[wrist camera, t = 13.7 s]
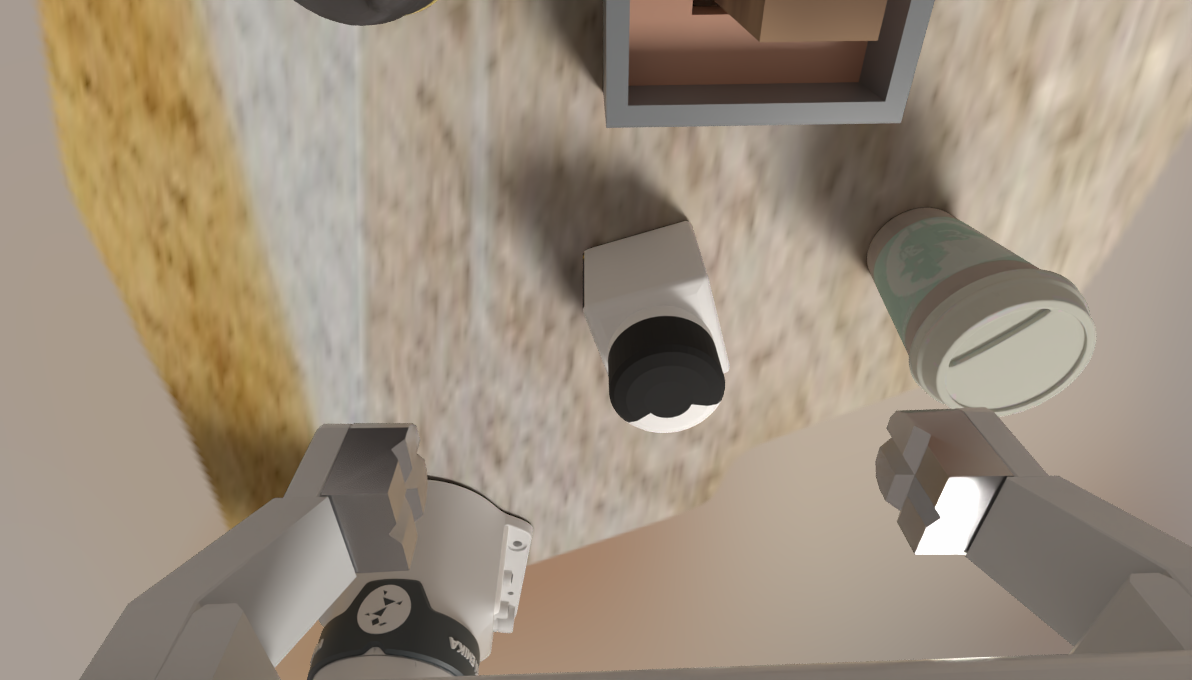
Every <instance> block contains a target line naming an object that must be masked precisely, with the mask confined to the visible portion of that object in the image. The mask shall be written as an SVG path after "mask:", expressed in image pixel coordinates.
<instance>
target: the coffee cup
mask: <svg viewBox="0 0 1192 680" xmlns="http://www.w3.org/2000/svg"><path fill="white" fill-rule="evenodd" d="M867 265H868V269H869V271H870V273H871V276H872V278H873V280H874V282H875V284H876V287H877V289H878V291H879V293H880V295H881V297H882V299H883V302H884V304H885V306H886V308H887V310H888V312H889V314H890V316H891V319H892V321H893V323H894V325H895V327H896V329H897V331H898V333H899V336H900V338H901V340H902V342H903V344H904V346H905V348H906V350H907V353H908V355H909V367H910V371H911V374H912V377H913V379H914V380H915V382H916V383H917V384H918V386H919V387H920V388H921V389H923V390H924V391H925V392H926V393H927V394H928V395H929V396H930V397H932V398H933V399H935V400H936V401H938V402H940V403H943V404H945V405H947V406H948V407H949V408H950V409H955V408H974V407H986V408H988V409H990V410H992V411H993V412H994V413H995V414H996V415H997V416H998V417H1002V416H1007V415H1011V414H1015V413H1019V412H1022V411H1025V410H1028V409H1030V408H1033V407H1035V406H1037V405H1039V404H1041V403H1043V402H1045V401H1047V400H1049V399H1050V398H1052V397H1054V396H1055V395H1057V394H1058V393H1060V392H1061V391H1062V390H1064V389H1065V388H1066V387H1067V386H1068V385H1070V384H1071V382H1073V381H1074V380H1075V379H1076V378H1077V377H1078V376H1079V374H1080V373H1081V372H1082V371H1083V369H1084V368H1085V367H1086V365H1087V364H1088V362H1089V360H1090V358H1091V356H1092V354H1093V351H1094V348H1095V345H1096V337H1097V336H1096V328H1095V325H1094V322H1093V320H1092V318H1091V316H1090V311H1089V307H1088V305H1087V302H1086V300H1085V299H1084V297H1083V296H1082V295H1081V293H1080V292H1079V290H1078V289H1077V287H1076V286H1075V285H1074V284H1073V283H1072V282H1071V281H1070V280H1068V279H1067V278H1065V277H1063V276H1061V275H1059V274H1057V273H1054V272H1051V271H1047V270H1041V269H1039V268H1037V267H1036V266H1034V265H1032V264H1031V263H1029V262H1027V261H1026V260H1024V259H1023V258H1021V257H1019V256H1018V255H1016V254H1014V253H1013V252H1011V251H1009V250H1008V249H1006V248H1005V247H1003V246H1001V245H1000V244H998V243H996V242H995V241H993V240H991V239H990V238H988V237H987V236H985V235H983V234H982V233H980V232H978V231H977V230H975V229H973V228H972V227H970V226H969V225H967V224H965V223H964V222H962V221H960V220H959V219H957V218H955V217H954V216H952V215H950V214H948V213H947V212H945V211H943V210H940V209H937V208H917V209H913V210H909V211H906V212H904V213H902V214H900V215H898V216H896V217H894V218H893V219H891V220H890V221H889V222H887V223H886V224H885V225H884V226H883V227H882V228H881V229H880V230H879V231H878V232H877V234H876V235H875V237H874V238H873V240H872V242H871V244H870V246H869V249H868V253H867Z"/></svg>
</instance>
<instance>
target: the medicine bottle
mask: <svg viewBox="0 0 1192 680" xmlns="http://www.w3.org/2000/svg"><path fill="white" fill-rule="evenodd" d="M583 313H584V316H585V318H586V321H587V323H588V326H589V328H590V331H591V333H592V336H593V338H594V341H595V343H596V346H597V348H598V351H599V354H600V356H601V359H602V361H603V364H604V366H605V369H606V371H607V374H608V376H609V395H610V400H611V403H612V406H613V408H614V409H615V411H616V412H617V413H618V415H619V416H620V417H621V418H623V419H624V420H625V421H626V422H628V423H630V424H631V425H633V426H635V427H638V428H640V429H643V430H646V431H650V432H657V433H670V432H677V431H682V430H685V429H688V428H690V427H693V426H695V425H697V424H699V423H700V422H702V421H703V420H705V419H706V418H707V417H708V416H709V415H710V414H711V413H712V412H713V411H714V410H715V409H716V408H717V407H718V405H719V403H720V402H721V400H722V397H723V395H724V390H725V379H724V374H723V373H726V372H728V371H729V366H730V365H729V361H728V357H727V353H726V348H725V344H724V340H723V336H722V332H721V328H720V324H719V319H718V315H717V311H716V307H715V303H714V299H713V294H712V290H711V286H710V282H709V278H708V275H707V271H706V268H705V265H704V262H703V259H702V256H701V252H700V249H699V246H698V243H697V240H696V236H695V233H694V230H693V227H692V224H691V223H690V222H688V221H683V222H679V223H676V224H673V225H669V226H666V227H662V228H659V229H655V230H652V231H648V232H645V233H641V234H638V235H635V236H631V237H628V238H624V239H621V240H617V241H614V242H610V243H607V244H603V245H600V246H597V247H593V248H590V249H587V250H585V251H584V253H583Z"/></svg>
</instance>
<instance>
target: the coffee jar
mask: <svg viewBox="0 0 1192 680" xmlns="http://www.w3.org/2000/svg"><path fill="white" fill-rule="evenodd" d="M294 1H295V2H297V3H298V4H300V5H302V6H303V7H305V8H306V9H308V10H310V11H312V12H314V13H315V14H317V15H319V16H321V17H324V18H326V19H329V20H332V21H336V22H339V23H343V24H348V25H359V26H364V25H376V24H383V23H387V22H391V21H394V20H396V19H399V18H401V17H402V16H406V15H410V14H414V13H417V12H420V11H422V10H424V9H426V8H428V7H429V6H431V5H432V4H434V3H435V2H436V1H438V0H294Z"/></svg>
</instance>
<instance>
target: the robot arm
mask: <svg viewBox="0 0 1192 680" xmlns="http://www.w3.org/2000/svg"><path fill="white" fill-rule="evenodd" d="M887 430H888V432H889V433H890V435H891V437H892V438H891V439H889V440H888V441H887V442H886V443H884V444H883V445H882V446H881V447H880V448H879V451H878V455H877V458H876V478H877V482H878V485H879V489H880V491H881V493H882V494H883V497H884V499H885V500H886V501H887V502H888V503H890V504H891V505H892V506H894V507H895V508H897V509H898V510H900V513H899V517H898V520H897V523H898V525H899V526H900V528H901V530H902V532H903V534H904V535H905V537H906V539H907V541H908V543H909V545H910V547H911V548H912V550H913V552H914V554H966V557H967V558H968V559H969V560H970V561H971V562H973V563H974V564H975V565H976V566H978V567H979V568H980V569H981V570H982V571H984V572H985V573H986V574H987V575H988V576H989V577H991V578H992V579H993V580H994V581H996V582H997V583H998V584H999V585H1000V586H1002V587H1003V588H1004V589H1005V590H1006V591H1008V592H1009V593H1010V594H1011V595H1012V596H1014V597H1015V598H1016V599H1017V600H1018V601H1020V602H1021V603H1022V604H1023V605H1024V606H1026V607H1027V608H1028V609H1029V610H1030V611H1032V612H1033V613H1034V614H1035V615H1036V616H1038V617H1039V618H1040V619H1041V620H1043V621H1044V622H1045V623H1046V624H1047V625H1049V626H1050V627H1051V628H1052V629H1053V630H1055V631H1056V632H1057V633H1058V634H1060V635H1061V636H1062V637H1063V638H1064V639H1066V640H1067V641H1068V642H1069V643H1070V644H1072V645H1073V646H1074V648H1073V649H1072V650H1071V652H1070V653H1069V654H1060V655H1059V654H1057V655H1030V656H1004V657H977V658H948V659H922V660H895V661H866V662H838V663H812V664H785V665H760V666H732V667H705V668H679V669H652V670H651V669H650V670H621V671H596V672H595V671H594V672H567V673H566V672H565V673H538V674H537V673H536V674H508V675H479V676H478V667H479V663H480V662H481V661H483V660H484V659H485V658H487V657H488V656H489V655H490V653H491V646H492V638H493V632H496V631H498V632H502V633H511V632H513V624H514V617H515V616H516V613H517V608H518V604H519V599H520V594H521V589H522V584H523V579H524V574H525V569H526V564H527V559H528V554H529V549H530V544H531V539H532V534H533V527H532V526H531V525H530V524H529V523H528V522H526V521H524V520H521V519H519V518H516V517H514V516H511V515H508V514H505V513H504V512H502V511H501V510H499V509H498V508H497V507H495V506H494V505H493V504H492V503H490V502H489V501H488V500H486V499H485V498H483V497H482V496H480V495H478V494H477V493H475V492H473V491H470V490H468V489H466V488H463V487H460V486H457V485H454V484H450V483H446V482H441V481H435V480H427V469H426V464H425V460H424V459H423V458H422V457H421V456H420V455H418V454H417V451H418V447H419V443H420V437H419V434H418V430H417V426H416V425H414V424H413V423H354V424H323V425H322V426H321V427H319V428H318V429H317V430H316V432H315V434H314V436H313V438H312V440H311V442H310V444H309V446H308V449H307V451H306V453H305V455H304V457H303V459H302V461H301V463H300V465H299V467H298V469H297V471H296V473H295V475H294V477H293V479H292V481H291V483H290V485H289V487H288V489H287V491H286V493H285V495H284V497H283V498H273V499H272V500H271V501H269V502H268V503H266V504H265V505H264V506H262V507H261V508H260V509H258V510H257V511H255V512H254V513H253V514H251V515H250V516H248V517H247V518H246V519H244V520H243V521H242V522H240V523H239V524H237V525H236V526H235V527H233V528H232V529H231V530H229V531H228V532H226V533H225V534H224V535H222V536H221V537H220V538H218V539H217V540H215V541H214V542H213V543H211V544H210V545H209V546H207V547H206V548H204V549H203V550H202V551H200V552H199V553H198V554H196V555H195V556H193V557H192V558H191V559H189V560H188V561H186V562H185V563H184V564H182V565H181V566H180V567H178V568H177V569H175V570H174V571H173V572H171V573H170V574H169V575H167V576H166V577H164V578H163V579H162V580H160V581H159V582H158V583H156V584H155V585H154V586H152V587H151V588H149V589H148V590H147V591H145V592H144V593H143V594H141V595H140V596H138V597H137V598H135V599H134V600H133V601H131V602H130V603H129V604H128V605H127V606H126V608H125V610H124V611H123V613H122V614H121V616H120V617H119V619H118V620H117V622H116V623H115V625H114V627H113V628H112V630H111V631H110V633H109V634H108V636H107V637H106V639H105V641H104V642H103V644H102V645H101V647H100V648H99V650H98V651H97V653H96V654H95V656H94V658H93V659H92V661H91V662H90V664H89V665H88V667H87V668H86V670H85V671H84V673H83V675H82V676H81V678H80V679H79V680H281V679H280V677H279V675H278V674H277V672H276V670H275V667H276V666H277V665H278V664H279V662H280V661H281V660H282V659H283V658H284V657H285V656H286V655H287V653H288V652H289V651H290V650H291V649H292V648H293V647H294V646H295V645H296V644H297V642H298V641H299V640H300V639H301V638H302V637H303V636H304V634H306V632H307V631H308V630H309V629H310V628H311V627H312V626H313V624H314V623H315V622H316V621H317V620H318V619H319V622H320V623H321V625H322V626H323V627H324V629H323V631H322V633H321V636H320V639H319V642H318V644H317V646H316V647H315V649H314V653H313V655H312V659H311V665H310V666H311V667H310V670H309V674H308V678H307V680H1192V547H1191V546H1189V545H1187V544H1185V543H1183V542H1181V541H1179V540H1178V539H1176V538H1174V537H1172V536H1170V535H1168V534H1166V533H1164V532H1163V531H1161V530H1159V529H1157V528H1155V527H1153V526H1151V525H1149V524H1147V523H1146V522H1144V521H1142V520H1140V519H1138V518H1136V517H1135V516H1133V515H1131V514H1129V513H1127V512H1125V511H1123V510H1122V509H1120V508H1118V507H1116V506H1114V505H1112V504H1110V503H1108V502H1106V501H1105V500H1102V499H1101V498H1099V497H1097V496H1095V495H1093V494H1091V493H1090V492H1088V491H1086V490H1084V489H1082V488H1080V487H1078V486H1076V485H1075V484H1073V483H1071V482H1069V481H1067V480H1065V479H1063V478H1061V477H1060V476H1049V475H1048V474H1047V473H1046V472H1045V471H1044V470H1043V468H1042V467H1041V466H1040V465H1039V464H1038V463H1037V461H1036V460H1035V459H1034V458H1033V457H1032V456H1031V455H1030V453H1029V452H1028V451H1027V450H1026V449H1025V448H1024V446H1023V445H1022V444H1021V443H1020V442H1019V441H1018V439H1017V438H1016V437H1015V436H1014V435H1013V434H1012V432H1011V431H1010V430H1009V429H1008V428H1007V427H1006V425H1005V424H1004V423H1003V422H1002V421H1001V420H1000V419H999V417H998V416H997V415H996V414H995V413H994V412H993V411H992V410H990V409H988V408H986V407H974V408H955V409H933V410H903V411H896V412H895V413H894V414H893V415H892V416H891V417H890V420H889V423H888V426H887Z"/></svg>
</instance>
